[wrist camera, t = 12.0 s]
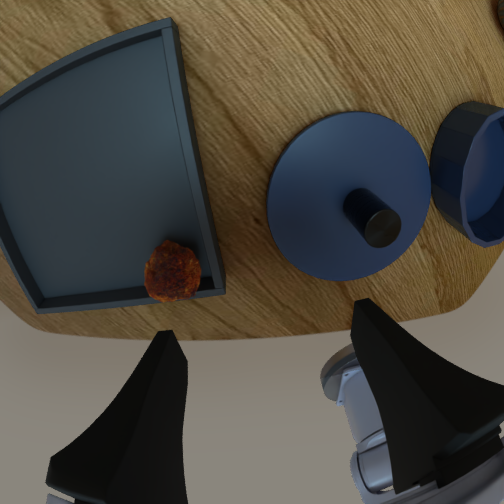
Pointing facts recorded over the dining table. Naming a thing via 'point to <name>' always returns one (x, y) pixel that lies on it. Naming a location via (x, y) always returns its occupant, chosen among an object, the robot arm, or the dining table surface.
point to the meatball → (172, 273)
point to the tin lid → (348, 196)
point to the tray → (103, 174)
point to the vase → (501, 12)
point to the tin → (471, 172)
